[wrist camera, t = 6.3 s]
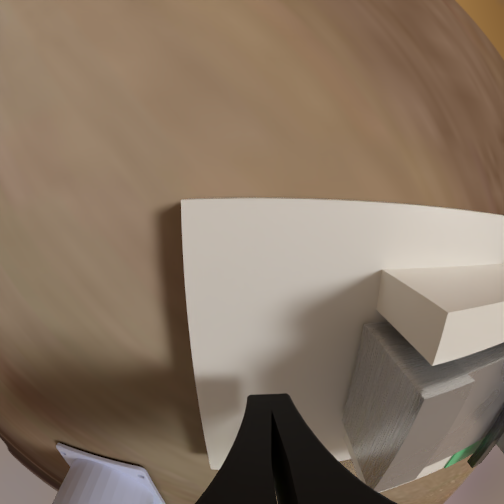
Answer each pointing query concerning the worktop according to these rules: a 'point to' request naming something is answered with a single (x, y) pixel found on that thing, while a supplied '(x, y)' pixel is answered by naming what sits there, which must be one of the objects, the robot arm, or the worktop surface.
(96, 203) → the worktop surface
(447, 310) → the architectural block model
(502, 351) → the grey block with bar
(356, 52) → the worktop surface
